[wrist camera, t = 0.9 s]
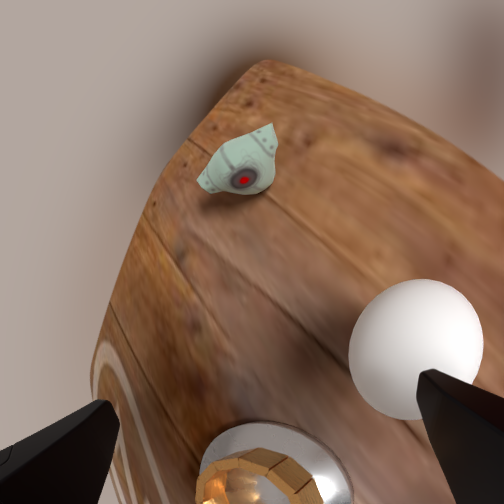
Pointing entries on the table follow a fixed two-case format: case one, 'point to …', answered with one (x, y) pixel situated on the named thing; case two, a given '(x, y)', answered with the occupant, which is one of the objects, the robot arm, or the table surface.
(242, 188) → the robot head
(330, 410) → the table surface
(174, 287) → the table surface
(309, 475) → the wooden ring on plate
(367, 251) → the table surface
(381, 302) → the lightbulb
